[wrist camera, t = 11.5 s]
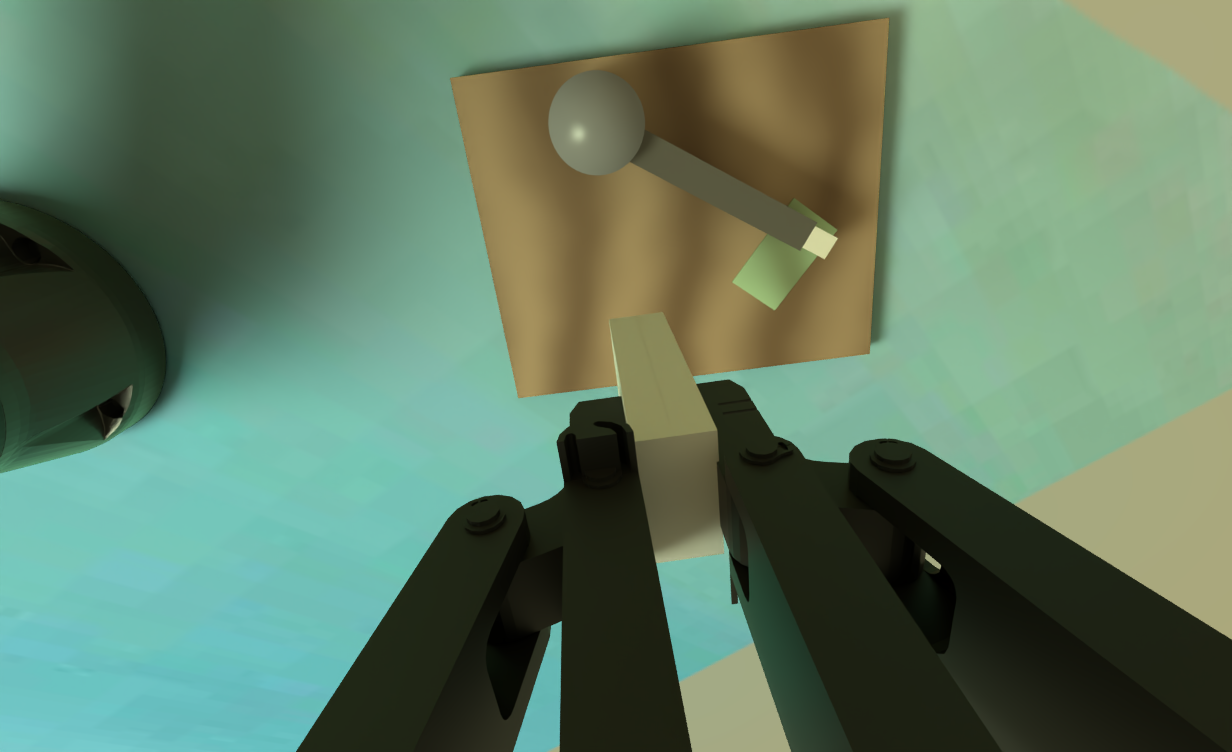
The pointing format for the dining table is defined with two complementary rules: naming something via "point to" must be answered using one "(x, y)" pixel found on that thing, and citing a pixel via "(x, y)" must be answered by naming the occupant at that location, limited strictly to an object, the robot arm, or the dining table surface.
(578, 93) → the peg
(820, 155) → the board
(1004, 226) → the dining table surface
